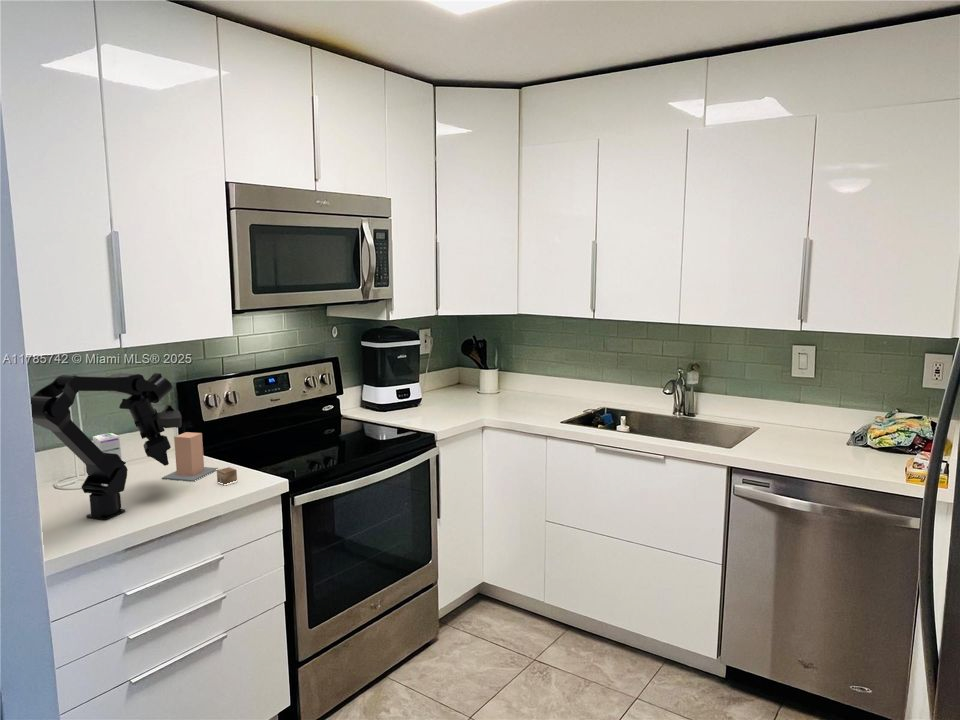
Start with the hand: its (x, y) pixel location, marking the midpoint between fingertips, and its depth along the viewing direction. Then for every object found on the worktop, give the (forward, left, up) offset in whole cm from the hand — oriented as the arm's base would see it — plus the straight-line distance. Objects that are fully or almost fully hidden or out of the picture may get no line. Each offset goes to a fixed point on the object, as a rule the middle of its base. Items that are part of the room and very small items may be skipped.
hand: (164, 456), depth 192 cm
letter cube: (+10, -13, -10) cm, 19 cm away
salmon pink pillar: (+13, +3, -9) cm, 16 cm away
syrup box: (-1, +20, -10) cm, 22 cm away
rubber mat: (+13, +3, -10) cm, 16 cm away
